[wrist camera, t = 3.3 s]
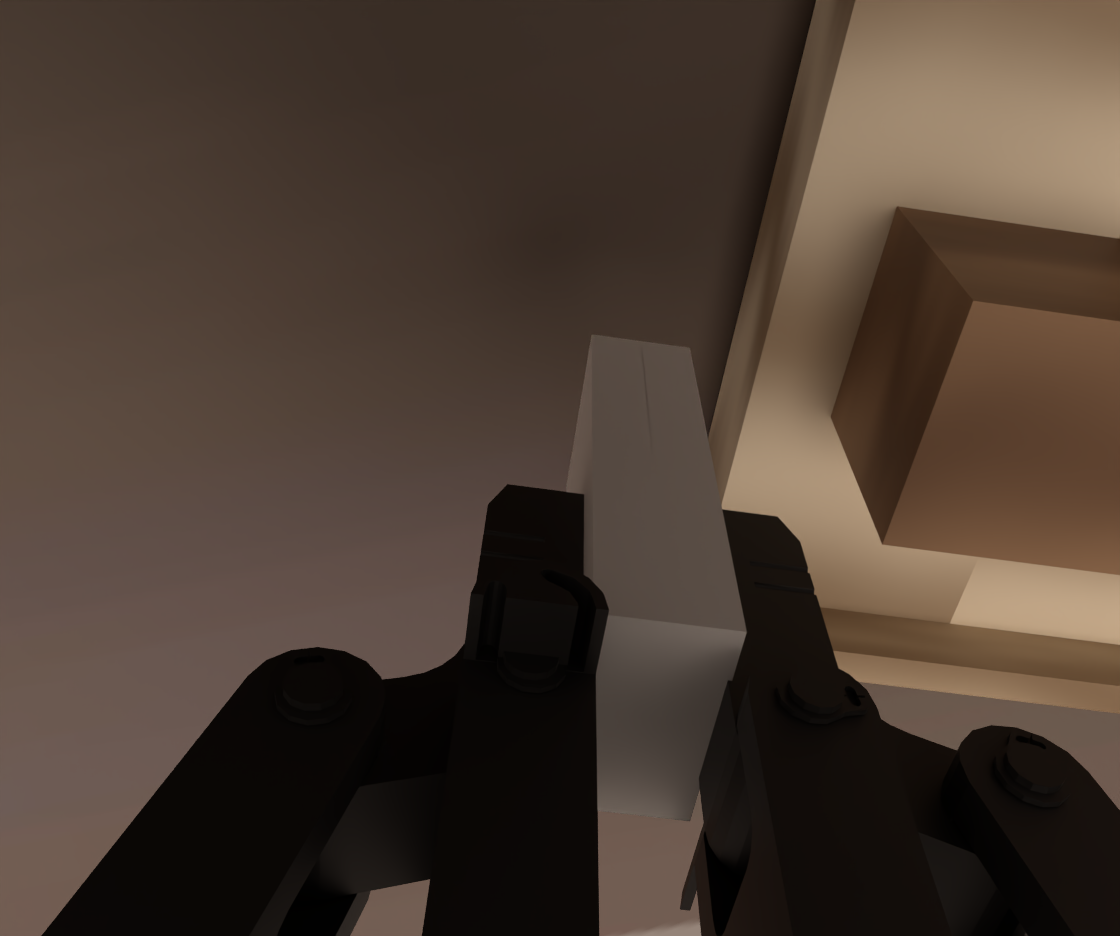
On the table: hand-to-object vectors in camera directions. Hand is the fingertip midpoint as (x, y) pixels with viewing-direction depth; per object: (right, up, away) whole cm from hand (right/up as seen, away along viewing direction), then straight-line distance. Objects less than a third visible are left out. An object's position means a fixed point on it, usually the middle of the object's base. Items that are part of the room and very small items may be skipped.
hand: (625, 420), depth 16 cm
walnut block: (+7, +2, +4) cm, 9 cm away
